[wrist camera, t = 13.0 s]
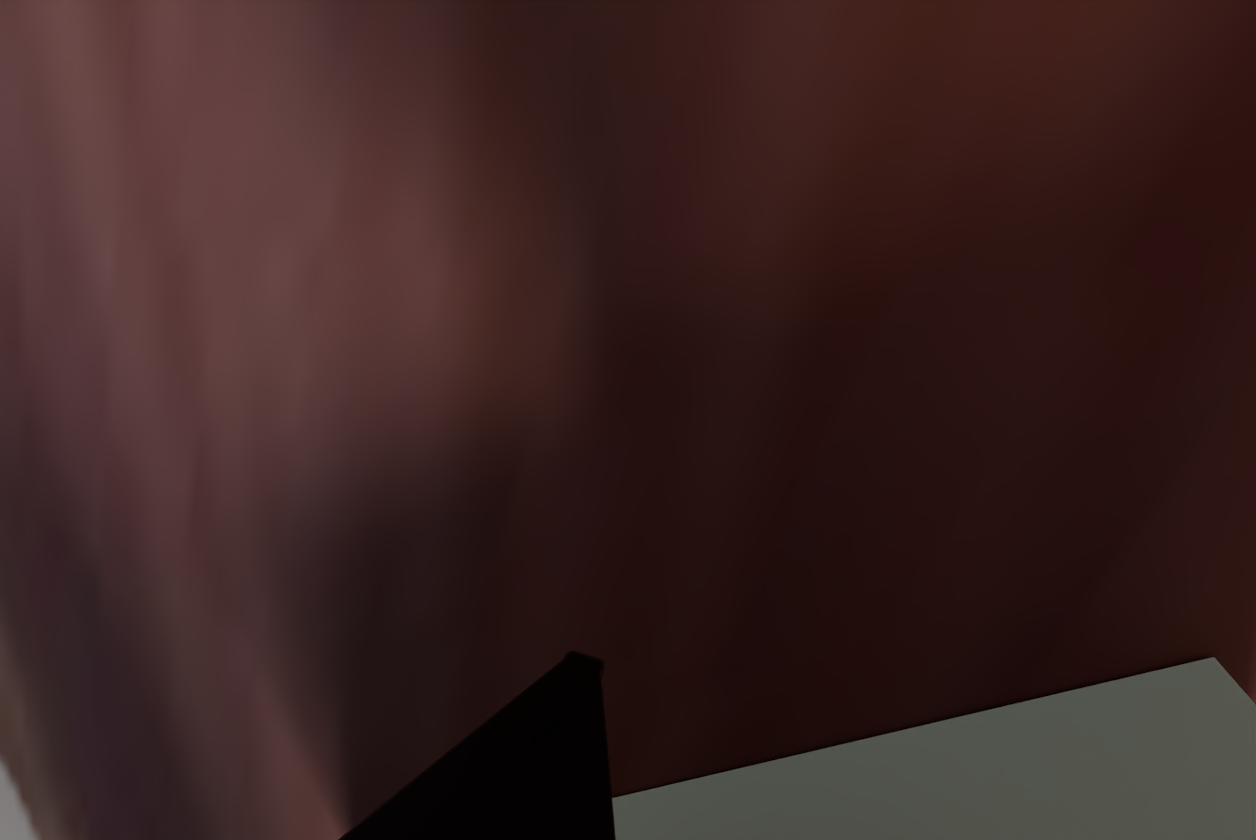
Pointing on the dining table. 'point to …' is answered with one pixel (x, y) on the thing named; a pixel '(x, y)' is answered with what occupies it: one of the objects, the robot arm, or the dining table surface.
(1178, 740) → the cover
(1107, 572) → the dining table surface
